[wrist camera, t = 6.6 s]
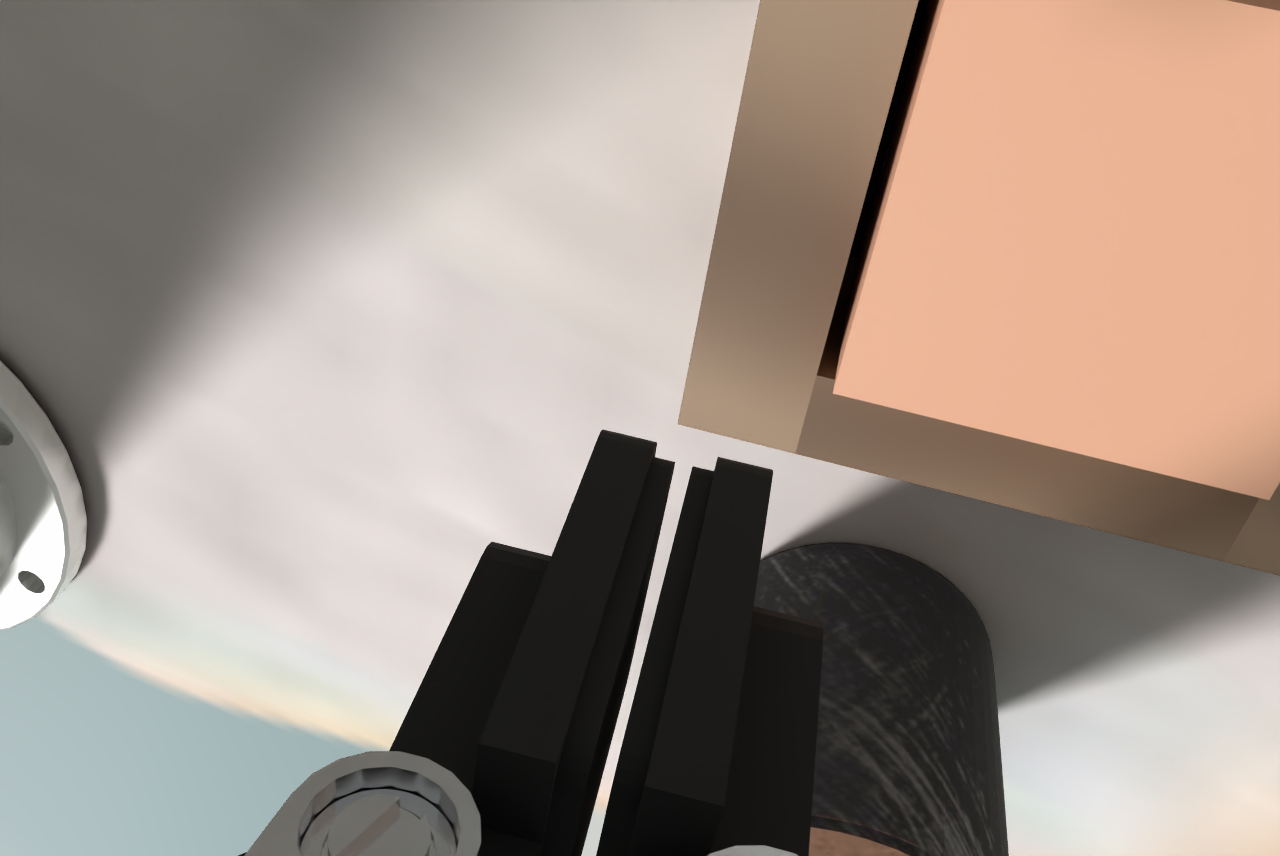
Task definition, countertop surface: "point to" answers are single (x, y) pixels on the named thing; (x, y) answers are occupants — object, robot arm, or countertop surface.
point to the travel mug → (895, 705)
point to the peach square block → (1084, 234)
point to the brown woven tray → (820, 292)
